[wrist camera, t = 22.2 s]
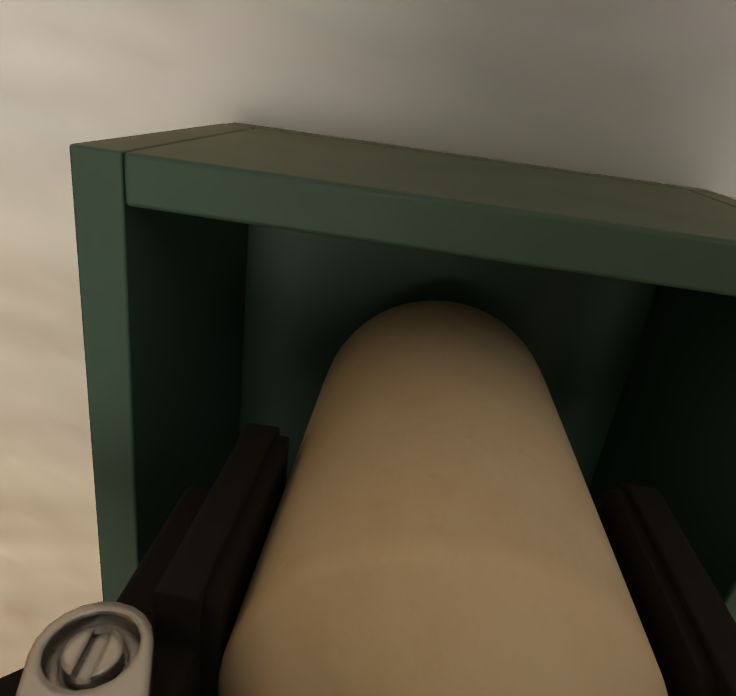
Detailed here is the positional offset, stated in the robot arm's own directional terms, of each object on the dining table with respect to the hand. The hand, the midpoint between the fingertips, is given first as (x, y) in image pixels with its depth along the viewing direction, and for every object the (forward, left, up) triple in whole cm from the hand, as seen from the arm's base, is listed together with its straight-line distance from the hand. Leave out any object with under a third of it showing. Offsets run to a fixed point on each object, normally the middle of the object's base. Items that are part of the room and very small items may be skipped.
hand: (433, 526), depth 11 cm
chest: (+1, +1, -8) cm, 8 cm away
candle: (0, 0, -5) cm, 5 cm away
